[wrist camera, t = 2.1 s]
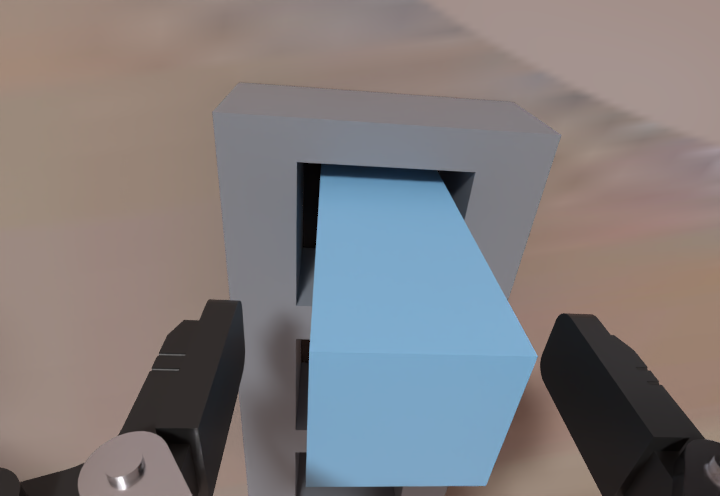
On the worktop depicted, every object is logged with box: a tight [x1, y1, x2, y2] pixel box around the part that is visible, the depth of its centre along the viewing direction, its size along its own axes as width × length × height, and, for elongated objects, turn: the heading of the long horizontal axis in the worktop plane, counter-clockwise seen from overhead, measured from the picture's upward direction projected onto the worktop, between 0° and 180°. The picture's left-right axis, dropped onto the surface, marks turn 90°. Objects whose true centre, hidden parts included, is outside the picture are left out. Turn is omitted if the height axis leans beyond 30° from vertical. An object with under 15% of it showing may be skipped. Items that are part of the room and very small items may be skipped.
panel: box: [212, 83, 561, 496], centre depth 20 cm, size 22×10×4 cm, turn 175°
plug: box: [306, 163, 538, 487], centre depth 13 cm, size 4×4×11 cm
